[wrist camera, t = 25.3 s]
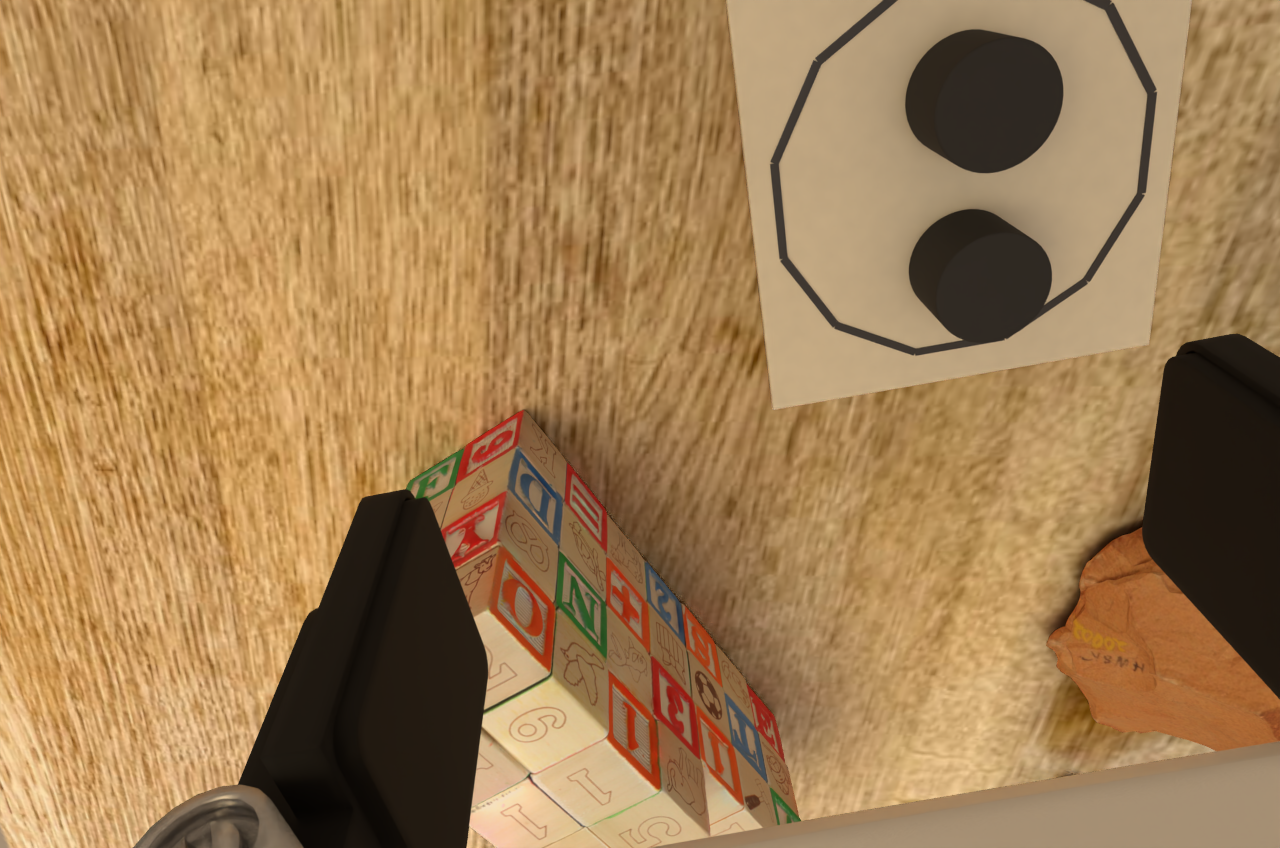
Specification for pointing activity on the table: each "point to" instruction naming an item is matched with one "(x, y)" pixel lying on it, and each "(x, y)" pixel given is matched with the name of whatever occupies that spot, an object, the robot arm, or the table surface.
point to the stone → (1158, 657)
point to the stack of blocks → (592, 669)
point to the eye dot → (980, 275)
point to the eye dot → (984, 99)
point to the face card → (945, 183)
